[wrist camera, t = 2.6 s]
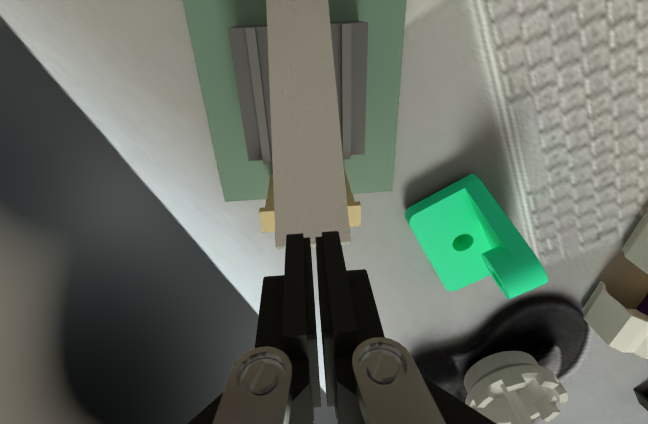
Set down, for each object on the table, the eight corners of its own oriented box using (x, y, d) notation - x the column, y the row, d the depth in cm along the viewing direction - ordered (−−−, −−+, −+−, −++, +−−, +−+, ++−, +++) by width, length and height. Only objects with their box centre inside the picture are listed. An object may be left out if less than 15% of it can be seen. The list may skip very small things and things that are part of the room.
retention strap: (265, -66, 19) (262, -94, 18) (319, -67, 19) (319, -96, 18) (278, 250, 15) (274, 245, 13) (348, 245, 15) (351, 240, 13)
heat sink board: (165, -105, 22) (100, -163, 15) (410, -112, 23) (464, -170, 15) (226, 196, 33) (207, 248, 26) (389, 186, 34) (414, 234, 27)
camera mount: (398, 205, 35) (432, 270, 26) (468, 168, 34) (529, 224, 25) (440, 278, 41) (480, 352, 32) (501, 249, 39) (561, 318, 30)
